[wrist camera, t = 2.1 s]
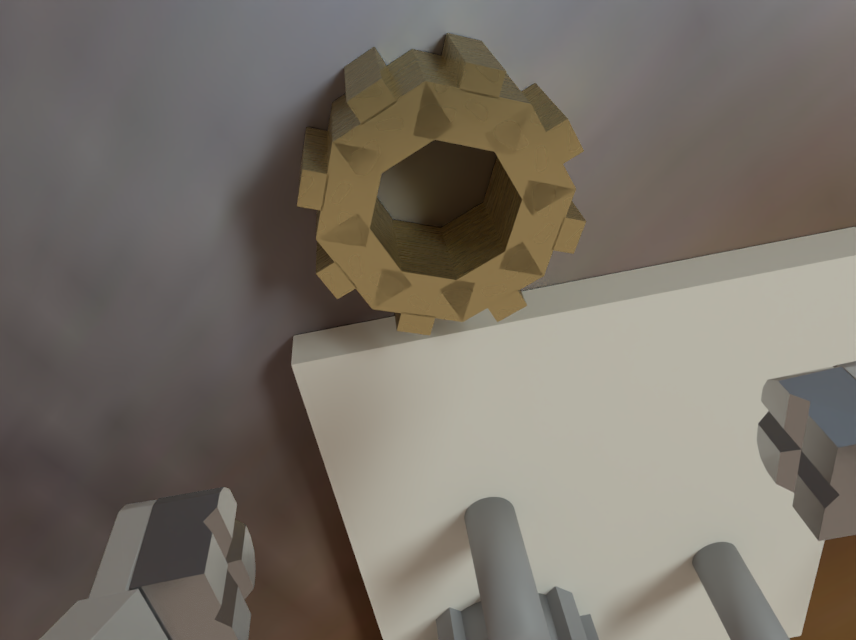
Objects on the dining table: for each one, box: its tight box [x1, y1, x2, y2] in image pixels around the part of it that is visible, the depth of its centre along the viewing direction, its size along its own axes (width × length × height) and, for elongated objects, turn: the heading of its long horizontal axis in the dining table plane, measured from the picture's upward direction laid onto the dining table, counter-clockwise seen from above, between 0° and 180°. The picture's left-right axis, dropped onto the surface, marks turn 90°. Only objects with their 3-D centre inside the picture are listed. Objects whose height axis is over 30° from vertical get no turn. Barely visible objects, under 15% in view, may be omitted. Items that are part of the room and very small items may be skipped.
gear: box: [297, 33, 586, 335], centre depth 18 cm, size 7×7×3 cm
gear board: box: [291, 227, 856, 640], centre depth 24 cm, size 20×18×7 cm
